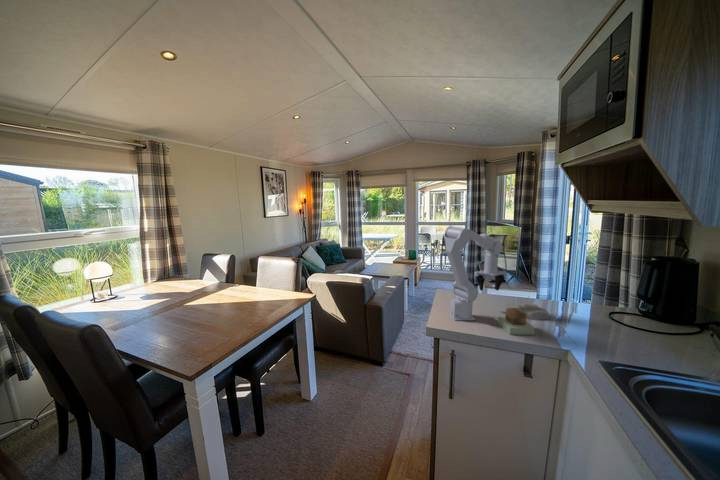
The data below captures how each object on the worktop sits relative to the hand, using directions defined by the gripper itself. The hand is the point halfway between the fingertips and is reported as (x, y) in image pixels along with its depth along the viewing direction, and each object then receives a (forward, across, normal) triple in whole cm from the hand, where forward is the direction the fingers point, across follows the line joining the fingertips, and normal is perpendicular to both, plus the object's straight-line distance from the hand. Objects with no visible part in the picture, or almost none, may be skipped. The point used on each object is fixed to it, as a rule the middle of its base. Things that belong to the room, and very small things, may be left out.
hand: (488, 289), depth 129 cm
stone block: (+11, +18, -5) cm, 22 cm away
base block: (+10, +3, -19) cm, 22 cm away
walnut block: (+7, +3, -19) cm, 20 cm away
